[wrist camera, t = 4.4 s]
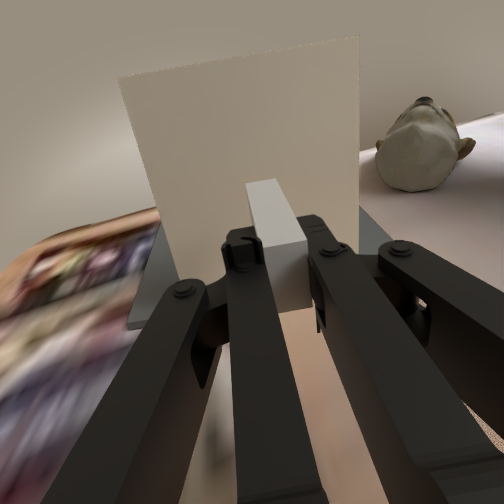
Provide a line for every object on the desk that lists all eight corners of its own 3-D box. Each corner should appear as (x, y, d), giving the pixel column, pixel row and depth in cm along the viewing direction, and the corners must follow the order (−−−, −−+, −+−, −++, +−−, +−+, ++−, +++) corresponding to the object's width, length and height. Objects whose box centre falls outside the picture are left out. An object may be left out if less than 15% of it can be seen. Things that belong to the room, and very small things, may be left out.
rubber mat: (338, 190, 39) (338, 185, 38) (422, 277, 23) (423, 270, 23) (164, 221, 39) (163, 216, 38) (129, 330, 23) (126, 323, 23)
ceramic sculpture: (353, 109, 32) (384, 93, 43) (352, 197, 36) (380, 162, 47) (489, 100, 27) (484, 85, 38) (470, 204, 31) (470, 162, 42)
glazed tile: (347, 256, 26) (344, 38, 19) (358, 272, 24) (359, 35, 17) (189, 284, 26) (127, 76, 19) (186, 303, 24) (116, 77, 17)
